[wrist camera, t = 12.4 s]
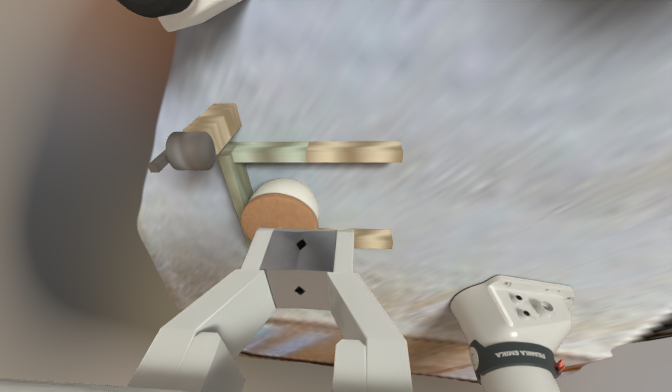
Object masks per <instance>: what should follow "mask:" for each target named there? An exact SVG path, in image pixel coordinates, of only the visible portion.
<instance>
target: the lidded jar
mask: <svg viewBox="0 0 672 392" xmlns="http://www.w3.org/2000/svg"><path fill="white" fill-rule="evenodd" d="M241 224H242V228H243V230H244V232H245V233H246V235H247V236H248V237H249V239H250V240H253V238H254V235H255V233H256V231H257V230H258V229H259V228H285V229H318V224H319V207H318V202H317V200H316V197H315V195H314V194H313V192H312V191H311V190H310V189H309V188H308V187H307V186H306V185H305V184H303V183H302V182H300V181H298V180H295V179H291V178H277V179H273V180H270V181H268V182H266V183H265V184H263V185H262V186H261V187H259V188H258V189H257V190H256V191H255V193H254V194H253V195H252V197H251V198H250V200H249V202H248V203H247V205H246V206H245V208H244V210H243V212H242V215H241Z"/></svg>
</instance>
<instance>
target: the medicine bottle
mask: <svg viewBox="0 0 672 392" xmlns="http://www.w3.org/2000/svg"><path fill="white" fill-rule="evenodd" d="M117 1H118V2H120V3H121V4H122V5H123V6H125V7H126V8H127V9H129V10H131V11H132V12H134V13H136V14H138V15H141V16H145V17H150V18H155V17H157V18H158V19H159V21H160V22H161V24H162V25H163V27H164V28H165V30H166V31H168V32H172V31H176V30H180V29H183V28H187V27H190V26H194V25H197V24H201V23H204V22H205V21H207V20H209V19H211V18H212V17H214V16H216V15H218V14H219V13H221V12H223V11H224V10H226V9H228V8H230V7H231V6H233V5H235V4H237V3H238V2H240V1H242V0H117Z"/></svg>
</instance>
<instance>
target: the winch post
mask: <svg viewBox="0 0 672 392" xmlns="http://www.w3.org/2000/svg"><path fill="white" fill-rule="evenodd" d="M241 126H242V125H241V122H240V118H239V114H238V110H237V106H236V104H213V105H212V106H211V107H209V108H208V109H207V110H206V111H205V112H204V113H202V114H201V115H200V116H199V117H198V118H196V119H195V120H194V121H193V122H192V123H191V124H189V125H188V126H187V127H186V128H185V129H183V132H173V133H172V134H170V136H169V137H168V139H167V142H166V150H164V151H163V152H162V153H161V154H160V155H159V156H157V157H156V158H155V159H154V160H153V161H152V162H151V163H149V164H148V165H147V166H148V168H149V170H150V171H151V172H160V171H161V170H162V169H163V168H164V167H165V166H166V165H167V164H168V163H170V165H171V166H172V167H173V168H174V169H176V170H210V169H211V168H212V167H213V165H214V162H215V156H216V154H219V152H220V151H221V150H222V149H223V148H224V146H225V145H226V144H227V143H228V141H229V140H230V139H231V138H232V137H233V135H234V134H235V133H236V132H237V130H238V129H239V128H240V127H241Z"/></svg>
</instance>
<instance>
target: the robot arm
mask: <svg viewBox="0 0 672 392" xmlns="http://www.w3.org/2000/svg"><path fill="white" fill-rule="evenodd" d="M574 296H575V295H574V292H573V290H572V288H571V287H570V286H565V285H559V284H553V283H546V282H540V281H534V280H528V279H521V278H515V277H509V276H502V275H499V276H495V277H493V278H491V279H489V280H488V281H486V282H485V283H482V284H479V285H476V286H473V287H470V288H468V289H466V290H464V291H462V292H460V293H459V294H458V295H457V296H455V298H454V299H453V300H452V302H451V306H450V308H451V311H452V313H453V314H454V316H455V318H456V319H457V321H458V323H459V325H460V327H461V329H462V331H463V333H464V336H465V338H466V340H467V343H468V346H469V354H470V359H471V363H472V366H473V369H474V371H475V374H476V377H477V380H478V382H479V384H480V385H482V388H483V392H561V391H560V390H559V387H558V385H557V383H556V381H555V379H556V378H557V377H558V376H559V375H560V374H561V371H562V370H563V369H564V368H565V367H566V365H563V366H562V367H561V365H562V364H563V360H562V359H561V360H560V361H559V362H558V363H557V364H556V362H555V360H554V353H555V351H556V350H557V349H558V348H559V347H560V345H561V344H562V343H563V341H564V340H565V339H566V338H567V336H568V335H569V333H570V331H571V329H572V318H571V315H570V312H569V308H570V307H571V305H572V303H573V301H574ZM276 308H302V309H303V308H304V309H317V310H331V313H332V315H333V317H334V319H335V321H336V323H337V325H338V327H339V329H340V332H341V334H342V336H343V338H344V339H341V340H340V341H339V342H338V343H337V344H336V352H335V364H334V376H333V388H332V392H413V388H412V380H411V371H410V363H409V355H408V347H407V341H406V340H405V338H404V337H403V336H402V334H401V333H400V331H399V330H398V329H397V327H396V326H395V324H394V323H393V322H392V320H391V319H390V317H389V316H388V315H387V313H386V312H385V310H384V309H383V308H382V306H381V305H380V303H379V302H378V301H377V299H376V298H375V296H374V295H373V294H372V292H371V291H370V289H369V288H368V287H367V285H366V284H365V282H364V281H363V280H362V278H361V277H360V275H359V274H358V273H354V230H340V229H338V230H333V229H285V228H259V229H258V230H257V231H256V233H255V235H254V238H253V240H252V242H251V245H250V247H249V249H248V252H247V254H246V257H245V259H244V261H243V264H242V266H241V268H240V269H235V270H234V271H232V272H231V273H230V274H229V275H227V276H226V277H225V278H224V279H222V280H221V281H220V282H219V283H217V284H216V285H215V286H213V287H212V288H211V289H210V290H208V291H207V292H206V293H205V294H203V295H202V296H201V297H200V298H198V299H197V300H196V301H194V302H193V303H192V304H191V305H189V306H188V307H187V308H186V309H184V310H183V311H182V312H181V313H179V314H178V315H177V316H176V317H175V318H173V319H172V320H170V321H169V322H168V323H167V324H165V325H164V326H163V327H162V328H161V329H160V330H159V333H158V334H157V336H156V337H155V339H154V341H153V342H152V344H151V346H150V348H149V349H148V351H147V353H146V355H145V357H144V358H143V360H142V362H141V364H140V365H139V367H138V369H137V370H136V372H135V374H134V375H133V377H132V379H131V381H130V382H129V384H128V386H127V387H125V386H110V385H96V384H82V383H68V382H53V381H39V380H25V379H10V378H0V392H242V390H243V386H244V383H245V378H244V376H243V374H242V373H241V371H240V369H239V368H238V366H237V364H236V363H235V361H234V360H235V358H236V357H237V356H238V355H239V354H240V352H241V351H242V350H243V349H244V348H245V346H246V345H247V344H248V343H249V342H250V340H251V339H252V338H253V337H254V336H255V334H256V333H257V332H258V331H259V330H260V328H261V327H262V326H263V325H264V324H265V322H266V321H267V320H268V319H269V318H270V316H271V315H272V314H273V313H274V312H275V310H276Z"/></svg>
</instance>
